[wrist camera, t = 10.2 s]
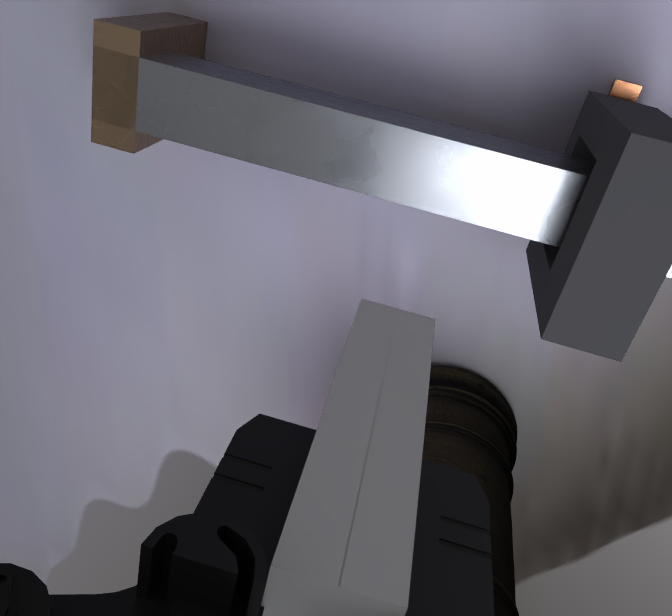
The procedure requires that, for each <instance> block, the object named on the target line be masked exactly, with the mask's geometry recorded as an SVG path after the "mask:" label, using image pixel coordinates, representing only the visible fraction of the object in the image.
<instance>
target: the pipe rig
mask: <svg viewBox="0 0 672 616" xmlns="http://www.w3.org/2000/svg"><path fill="white" fill-rule="evenodd" d="M206 31H207V22H204V21H201V20H197V19H193V18H189V17H185V16H181V15H177V14H173V13H158V14H146V15H135V16H123V17H112V18H101V19H94V38H93V82H92V126H91V142H94V143H97V144H101V145H104V146H108V147H112V148H115V149H119V150H122V151H126V152H130V153H133V154H134V153H136V152H138V151H140V150H143V149H145V148H147V147H149V146H151V145H153V144H155V143H157V142H159V141H161V140H163V139H166V140H170V141H174V142H177V143H181V144H184V145H188V146H192V147H195V148H199V149H203V150H206V151H210V152H214V153H217V154H221V155H225V156H228V157H232V158H235V159H239V160H243V161H246V162H250V163H254V164H257V165H261V166H265V167H268V168H272V169H276V170H279V171H283V172H286V173H290V174H294V175H297V176H301V177H305V178H308V179H312V180H316V181H319V182H323V183H327V184H330V185H334V186H337V187H341V188H345V189H348V190H352V191H356V192H359V193H363V194H367V195H370V196H374V197H378V198H381V199H385V200H388V201H392V202H396V203H399V204H403V205H407V206H410V207H414V208H418V209H421V210H425V211H429V212H432V213H436V214H439V215H443V216H447V217H450V218H454V219H458V220H461V221H465V222H469V223H472V224H476V225H480V226H483V227H487V228H490V229H494V230H498V231H501V232H505V233H509V234H512V235H516V236H520V237H523V238H527V239H531V240H534V241H538V242H541V243H545V244H549V245H552V246H556V247H560V246H561V244H562V242H563V239H564V237H565V234H566V232H567V230H568V227H569V225H570V223H571V220H572V218H573V215H574V213H575V211H576V208H577V206H578V204H579V201H580V199H581V196H582V194H583V192H584V189H585V187H586V185H587V182H588V180H589V177H590V175H591V173H592V170H593V168H594V166H595V163H596V162H592V161H588V160H584V159H580V158H577V157H573V156H569V155H565V154H561V153H558V152H554V151H550V150H546V149H542V148H539V147H535V146H531V145H527V144H523V143H520V142H516V141H512V140H508V139H504V138H501V137H497V136H493V135H489V134H485V133H481V132H478V131H474V130H470V129H466V128H462V127H459V126H455V125H451V124H447V123H443V122H440V121H436V120H432V119H428V118H424V117H421V116H417V115H413V114H409V113H405V112H402V111H398V110H394V109H390V108H386V107H383V106H379V105H375V104H371V103H367V102H364V101H360V100H356V99H352V98H348V97H345V96H341V95H337V94H333V93H329V92H325V91H322V90H318V89H314V88H310V87H306V86H303V85H299V84H295V83H291V82H287V81H284V80H280V79H276V78H272V77H268V76H265V75H261V74H257V73H253V72H249V71H246V70H242V69H238V68H234V67H230V66H227V65H223V64H219V63H215V62H211V61H208V60H204V51H205V41H206ZM642 87H643V86H641V85H637V84H633V83H629V82H625V81H621V80H617V79H615V81H614V83H613V86H612V88H611V91H610V93H609V96H611V97H615V98H619V99H622V100H626V101H630V102H634V103H636V100H637V98H638V96H639V94H640V91H641V89H642ZM666 277H669V278H672V265H671V267H670V269H669V271H668V273H667V275H666Z"/></svg>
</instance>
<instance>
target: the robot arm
mask: <svg viewBox="0 0 672 616" xmlns="http://www.w3.org/2000/svg"><path fill="white" fill-rule="evenodd" d="M434 327H435V319H433V318H429V317H425V316H422V315H418V314H415V313H411V312H408V311H404V310H400V309H397V308H393V307H390V306H386V305H383V304H379V303H375V302H372V301H368V300H365V299H361V301H360V304H359V307H358V310H357V313H356V316H355V319H354V322H353V325H352V328H351V331H350V334H349V337H348V340H347V342H346V345H345V348H344V351H343V354H342V357H341V360H340V363H339V366H338V369H337V372H336V375H335V378H334V381H333V384H332V387H331V390H330V393H329V395H328V398H327V401H326V404H325V407H324V410H323V413H322V416H321V419H320V422H319V425H318V428H317V430H314V429H310V428H307V427H303V426H300V425H297V424H293V423H290V422H286V421H283V420H280V419H276V418H273V417H269V416H266V415H263V414H258V415H257V416H256V417H254V418H253V419H251V420H250V421H249V422H247V423H246V424H244V425H243V426H242V427H240V428H239V429H237V431H236V432H235V434H234V436H233V438H232V440H231V442H230V444H229V446H228V448H227V450H226V452H225V454H224V457H223V458H222V459H221V461H220V463H219V465H218V467H217V469H216V471H215V473H214V476H213V478H212V479H211V480H210V483H209V484H208V486H207V488H206V490H205V492H204V494H203V496H202V498H201V500H200V502H199V504H198V505H197V507H196V509H195V511H194V513H193V514H188V515H182V516H177V517H175V518H173V519H171V520H169V521H168V522H166V523H164V524H162V525H160V526H158V527H156V528H155V529H154V531H153V532H152V533H151V534H150V535H149V536H148V537H147V538H146V540H145V541H144V542H143V543H142V544H141V552H140V562H139V573H138V584H137V585H136V586H134V587H131V588H128V589H125V590H122V591H119V592H114V593H104V594H82V595H81V594H76V595H49V594H48V590H47V586H46V585H45V584H44V583H43V582H42V581H41V580H40V579H39V578H38V577H37V576H36V575H35V574H34V573H33V572H32V571H30V570H27V569H25V568H22V567H19V566H16V565H14V564H11V563H0V616H494V598H493V575H492V560H491V554H492V552H491V536H489V535H490V531H491V529H490V506H489V501H488V499H487V497H486V495H485V493H484V491H483V489H482V487H481V485H480V483H479V481H478V479H477V477H476V475H474V474H471V473H467V472H464V471H460V470H457V469H454V468H450V467H447V466H443V465H440V464H437V463H433V462H430V461H426V460H423V459H422V453H423V443H424V432H425V422H426V411H427V401H428V390H429V380H430V369H431V359H432V348H433V338H434Z"/></svg>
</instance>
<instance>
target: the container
mask: <svg viewBox="0 0 672 616" xmlns="http://www.w3.org/2000/svg"><path fill="white" fill-rule="evenodd" d="M516 443H517V424H516V420H515V417H514V414H513V411H512V409H511V407H510V406H509V404H508V402H507V401H506V399H505V398H504V397H503V395H502V394H501V393H500V392H499V391H498V390H497V389H496V388H495V387H494V386H493V385H492V384H491V383H489V382H488V381H487V380H485V379H483V378H482V377H480V376H478V375H476V374H474V373H471V372H468V371H466V370H463V369H459V368H454V367H447V366H431V369H430V380H429V390H428V401H427V411H426V422H425V432H424V443H423V453H422V459H423V460H426V461H430V462H433V463H437V464H440V465H443V466H447V467H450V468H454V469H457V470H460V471H464V472H467V473H471V474H474V475H476V477H477V479H478V481H479V483H480V485H481V487H482V489H483V491H484V493H485V495H486V497H487V499H488V501H489V506H490V529H491V531H490V535H489V536H491V552H492V554H491V560H492V575H493V598H494V616H519V613H518V610H517V607H516V602H515V578H514V560H513V542H512V520H511V504H510V503H511V499H512V495H513V477H512V473H511V472H512V470H513V467H514V465H515V461H516V454H517V447H516Z"/></svg>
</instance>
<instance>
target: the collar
mask: <svg viewBox="0 0 672 616" xmlns="http://www.w3.org/2000/svg"><path fill="white" fill-rule="evenodd" d="M564 154H565V155H569V156H573V157H577V158H580V159H584V160H588V161H592V162H596V163H595V166H594V168H593V170H592V173H591V175H590V177H589V180H588V182H587V185H586V187H585V189H584V192H583V194H582V196H581V199H580V201H579V204H578V206H577V208H576V211H575V213H574V215H573V218H572V220H571V223H570V225H569V227H568V230H567V232H566V234H565V237H564V239H563V242H562V244H561V246H560V247H556V246H552V245H549V244H545V243H541V242H538V241H534V240H531V239H530V242H529V244H528V247H527V249H526V253H527V259H528V265H529V271H530V277H531V283H532V288H533V294H534V300H535V306H536V312H537V318H538V324H539V330H540V336H541V339H543V340H547V341H550V342H554V343H557V344H561V345H564V346H567V347H571V348H574V349H578V350H581V351H585V352H588V353H592V354H595V355H599V356H602V357H606V358H609V359H613V360H616V361H620V362H621V361H622V359H623V357H624V355H625V353H626V351H627V349H628V347H629V346H630V344H631V342H632V340H633V338H634V336H635V334H636V332H637V330H638V328H639V326H640V325H641V323H642V321H643V319H644V317H645V315H646V313H647V311H648V309H649V307H650V305H651V304H652V302H653V300H654V298H655V296H656V294H657V292H658V290H659V288H660V286H661V284H662V283H663V281H664V279H665V277H666V275H667V273H668V271H669V269H670V267H671V265H672V118H670V117H669V116H668V115H666V114H665V113H663V112H662V111H660V110H659V109H658V108H654V107H650V106H646V105H642V104H638V103H634V102H630V101H626V100H622V99H619V98H615V97H611V96H607V95H603V94H599V93H595V92H591V91H589V92H588V95H587V97H586V100H585V102H584V105H583V107H582V110H581V112H580V115H579V117H578V120H577V123H576V125H575V128H574V130H573V133H572V135H571V138H570V140H569V143H568V145H567V148H566V150H565V153H564Z"/></svg>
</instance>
